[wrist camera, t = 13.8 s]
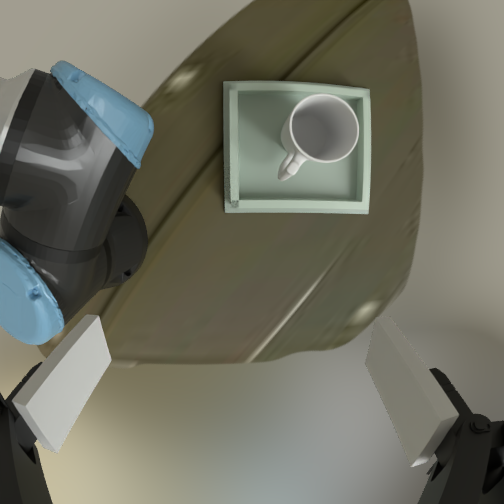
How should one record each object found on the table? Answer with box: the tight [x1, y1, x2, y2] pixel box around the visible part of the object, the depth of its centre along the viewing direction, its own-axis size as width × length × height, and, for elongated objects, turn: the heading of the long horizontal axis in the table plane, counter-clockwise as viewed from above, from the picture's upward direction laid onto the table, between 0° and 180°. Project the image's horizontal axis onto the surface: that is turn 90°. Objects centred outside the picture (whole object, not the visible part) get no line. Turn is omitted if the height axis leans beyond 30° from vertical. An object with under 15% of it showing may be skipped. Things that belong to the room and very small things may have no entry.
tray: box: [223, 81, 371, 214], centre depth 36 cm, size 20×18×3 cm
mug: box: [277, 93, 359, 181], centre depth 31 cm, size 10×7×12 cm, turn 145°
